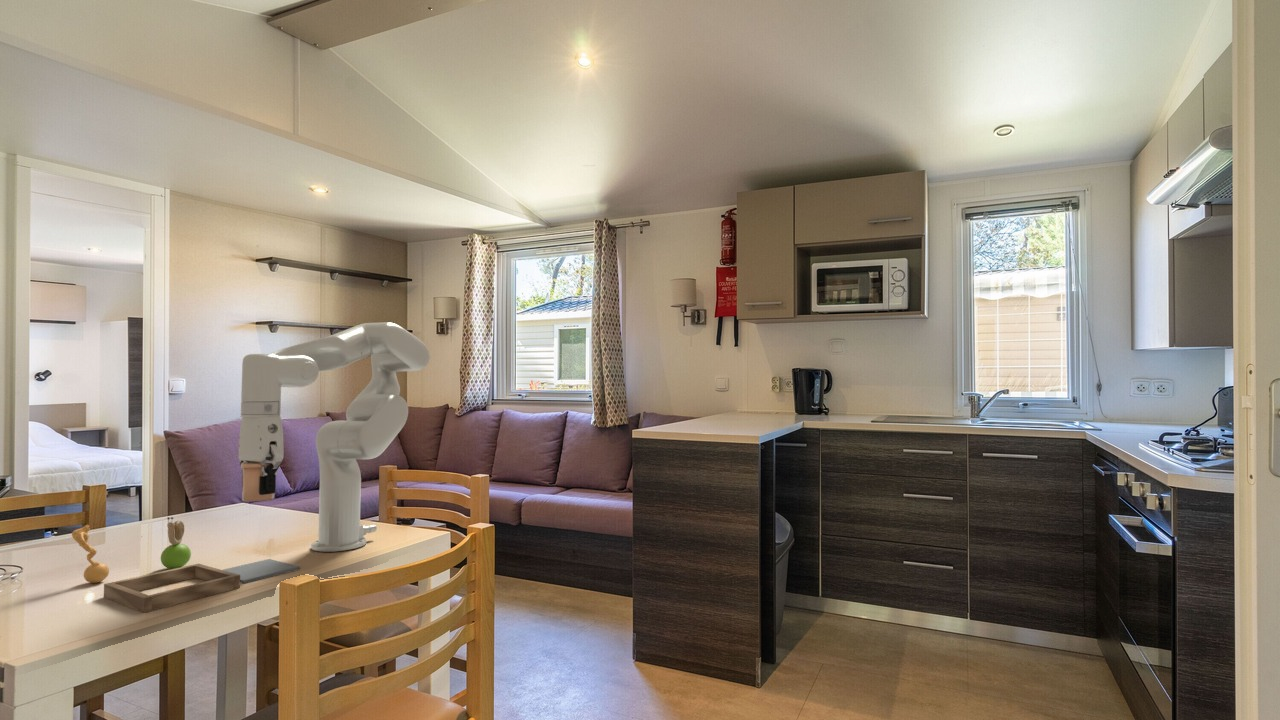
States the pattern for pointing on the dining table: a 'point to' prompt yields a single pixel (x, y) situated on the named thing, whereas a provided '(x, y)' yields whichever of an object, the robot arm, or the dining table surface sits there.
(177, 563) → the snail figurine
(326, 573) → the dining table surface
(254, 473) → the terracotta pot
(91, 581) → the figurine
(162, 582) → the frame
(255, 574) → the grey mat
